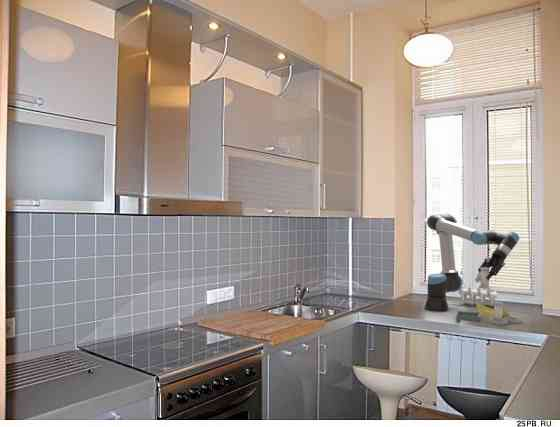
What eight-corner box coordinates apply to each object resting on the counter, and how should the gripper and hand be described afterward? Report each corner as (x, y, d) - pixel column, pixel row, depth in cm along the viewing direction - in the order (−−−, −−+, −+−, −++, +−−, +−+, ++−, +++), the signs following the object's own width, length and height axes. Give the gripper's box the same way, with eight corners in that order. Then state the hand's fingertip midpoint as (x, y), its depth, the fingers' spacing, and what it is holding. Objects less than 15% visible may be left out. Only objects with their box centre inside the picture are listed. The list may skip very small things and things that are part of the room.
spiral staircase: (495, 314, 311) (456, 308, 321) (496, 299, 325) (458, 294, 335) (497, 291, 303) (457, 286, 314) (498, 277, 318) (459, 273, 328)
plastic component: (511, 315, 278) (501, 309, 274) (506, 326, 277) (496, 320, 273) (485, 306, 296) (475, 300, 292) (480, 317, 295) (470, 311, 292)
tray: (457, 317, 280) (457, 310, 280) (479, 319, 275) (479, 312, 275) (456, 321, 269) (456, 314, 269) (479, 323, 264) (479, 316, 264)
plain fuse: (493, 321, 262) (493, 301, 263) (502, 322, 261) (502, 301, 261) (493, 323, 258) (494, 302, 258) (503, 324, 256) (503, 303, 256)
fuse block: (511, 322, 269) (511, 316, 269) (525, 325, 261) (525, 319, 261) (486, 324, 262) (486, 318, 262) (498, 328, 253) (498, 322, 253)
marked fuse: (479, 287, 271) (480, 267, 271) (488, 287, 269) (489, 267, 269) (480, 288, 267) (480, 268, 266) (489, 289, 265) (489, 268, 265)
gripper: (516, 259, 265) (495, 289, 259) (492, 256, 282) (471, 283, 276) (510, 250, 263) (488, 280, 257) (486, 247, 279) (464, 275, 273)
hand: (479, 282), depth 266 cm, fingers closed on marked fuse, 4 cm apart
